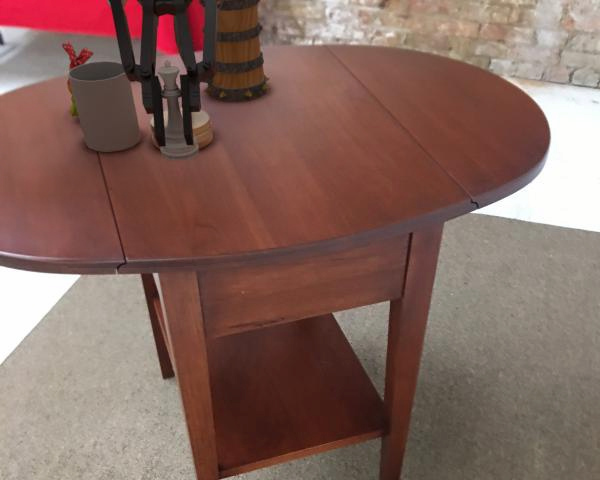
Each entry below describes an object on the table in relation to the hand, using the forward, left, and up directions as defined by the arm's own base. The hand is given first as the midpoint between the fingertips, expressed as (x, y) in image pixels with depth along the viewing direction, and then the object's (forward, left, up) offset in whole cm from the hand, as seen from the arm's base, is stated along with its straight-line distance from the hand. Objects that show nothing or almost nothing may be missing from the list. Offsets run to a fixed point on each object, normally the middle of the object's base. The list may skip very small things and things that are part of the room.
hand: (174, 140), depth 69 cm
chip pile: (-20, +21, -12) cm, 31 cm away
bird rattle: (-41, +20, -12) cm, 47 cm away
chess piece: (-3, +3, -3) cm, 5 cm away
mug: (-27, +40, -12) cm, 50 cm away
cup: (-29, +15, -12) cm, 35 cm away
